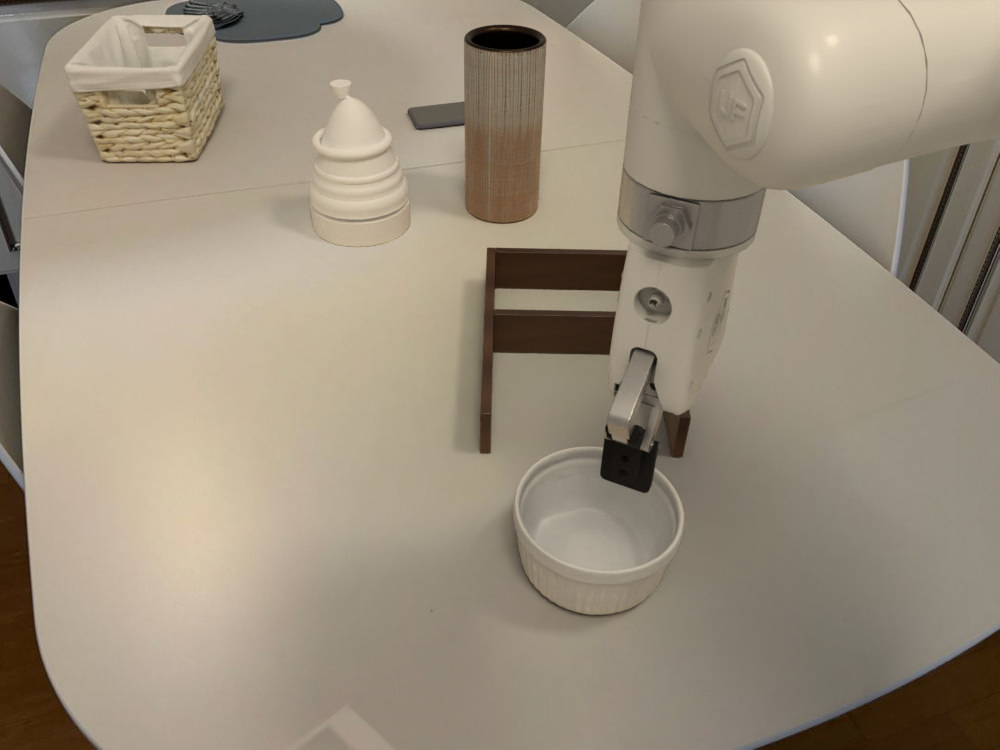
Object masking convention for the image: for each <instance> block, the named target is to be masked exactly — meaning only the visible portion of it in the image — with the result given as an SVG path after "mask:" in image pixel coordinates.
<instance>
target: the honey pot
mask: <svg viewBox="0 0 1000 750" xmlns="http://www.w3.org/2000/svg"><path fill="white" fill-rule="evenodd" d="M329 87H330V90H331V93H332V94H333V96H334V97H335V98H336V99H338V100H341V101H340V102H339V103H337V105H336V106H335V108H334V109H333V110H332V112H331V113H330V116H329V118H328V120H327V122H326V124H325V126H323V127H322V128H320V129H319V130H316V132H315V133H314V134H313V135H312V137H311V141H310V144H311V146H312V148H313V150H314V151H315V152H316V153H317V156H316V157H315V159H314V161H313V170H312V173H311V180H310V181H309V185H308V195H309V197H308V198H309V199H308V200H309V207H310V215H311V222H312V228H313V230H314V233H315V234H316V235H317V236H318V237H319V238H320V239H323V240H324V241H325V242H328V243H330V244H335V245H337V246H342V247H352V248H361V247H362V248H364V247H365V248H366V247H372V246H378V245H382V244H386V243H389V242H392V241H394V240H396V239H397V238H399V237H401V236H403V234H405V233H406V232H407V231H408V229H409V227H411V204H410V203H411V202H410V191H409V190H410V189H409V188H410V187H409V186H410V185H409V182H408V181H409V180H408V179H407V178H406V176H405V174H404V171H403V168H402V166H401V165H400V159H399V157H398V155H397V154H396V152H395V150H394V148H393V146H392V144H393V135H392V133H391V131H390V130H389V129H387V128H386V127H384V126H383V125H381V123H380V121H379V119H378V118H377V116H376V115H375V114H374V112H373V111H372V109H370V107H369V106H368V105H367V104H366V103H364V102H363V101H362V100H360V99H358V98H355V97H352V96H351V92H352V81H351V80H348V79H342V78H341V79H334V80H332V81H330V82H329Z"/></svg>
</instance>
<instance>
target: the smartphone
mask: <svg viewBox="0 0 1000 750" xmlns="http://www.w3.org/2000/svg"><path fill="white" fill-rule="evenodd" d="M407 114H408V115H409V117H410V118H411V120H412V123H413V124H414V127H415V128H416V129H418V130H426V129H434V128H442V127H450V126H459V125H465V109H464V101H457V102H446V103H440V104H439V103H438V104H429V105H421V106H412V107H409V108H408V109H407Z"/></svg>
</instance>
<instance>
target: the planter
mask: <svg viewBox="0 0 1000 750" xmlns="http://www.w3.org/2000/svg"><path fill="white" fill-rule="evenodd" d="M547 41H548V40H547V37H546V36H545V34H543V33H542V31H540V30H537V29H534V28H532V27H528V26H523V25H519V24H518V25H516V24H490V25H483V26H479V27H476V28H473V29H471V30H469V31H468V32H467V33H466V34H465V35H464V37H463V87H464V89H463V90H464V93H463V96H464V99H463V102H464V109H465V124H464V187H465V188H464V198H465V199H464V200H465V207H466V210H467V211H468V213H469V214H471V215H472V216H473V217H475V218H478V219H480V220H482V221H486V222H490V223H497V224H507V223H516V222H520V221H523V220H526V219H528V218H530V217H532V216H533V215H534V214H535V213H536V212H537V210H538V208H539V207H538V206H539V197H540V196H539V195H540V178H541V177H540V176H541V161H542V159H541V158H542V157H541V156H542V140H543V139H542V138H543V121H544V120H543V119H544V102H545V101H544V99H545V82H546V81H545V80H546V62H547V61H546V60H547Z"/></svg>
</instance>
